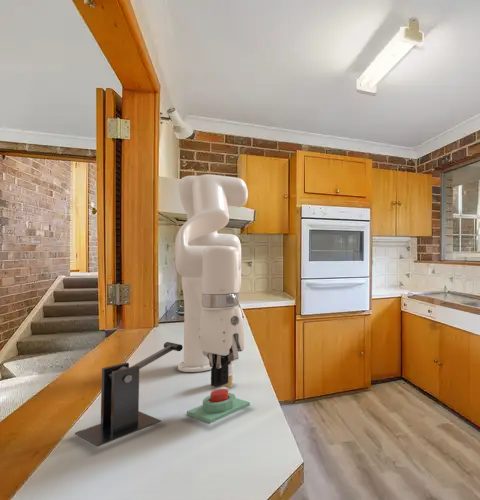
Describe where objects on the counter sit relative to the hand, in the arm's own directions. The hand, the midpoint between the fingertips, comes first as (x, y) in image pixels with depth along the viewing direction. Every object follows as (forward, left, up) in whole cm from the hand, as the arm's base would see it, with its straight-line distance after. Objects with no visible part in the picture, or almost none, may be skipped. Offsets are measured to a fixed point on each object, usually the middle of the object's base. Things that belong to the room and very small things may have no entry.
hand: (219, 384), depth 77 cm
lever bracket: (+15, -10, -7) cm, 19 cm away
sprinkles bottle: (-11, -13, -7) cm, 18 cm away
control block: (0, 0, -7) cm, 7 cm away
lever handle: (+10, -10, +5) cm, 15 cm away
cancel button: (0, 0, -4) cm, 4 cm away
